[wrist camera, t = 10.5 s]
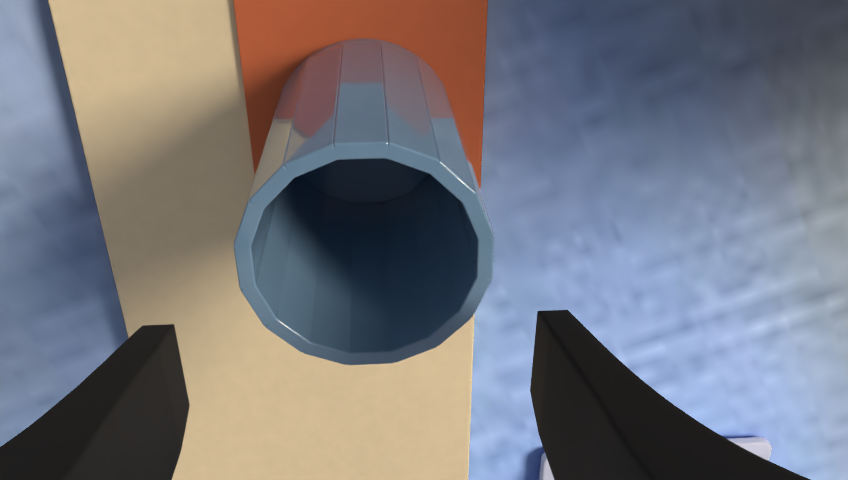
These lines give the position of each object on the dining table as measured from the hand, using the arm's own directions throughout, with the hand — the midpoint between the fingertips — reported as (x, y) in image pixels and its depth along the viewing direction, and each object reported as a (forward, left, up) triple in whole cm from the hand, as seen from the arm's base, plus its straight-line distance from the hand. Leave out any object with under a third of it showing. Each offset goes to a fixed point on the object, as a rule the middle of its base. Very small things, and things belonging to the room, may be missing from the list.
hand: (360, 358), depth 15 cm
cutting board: (+2, +5, -10) cm, 11 cm away
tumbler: (0, -1, -9) cm, 9 cm away
